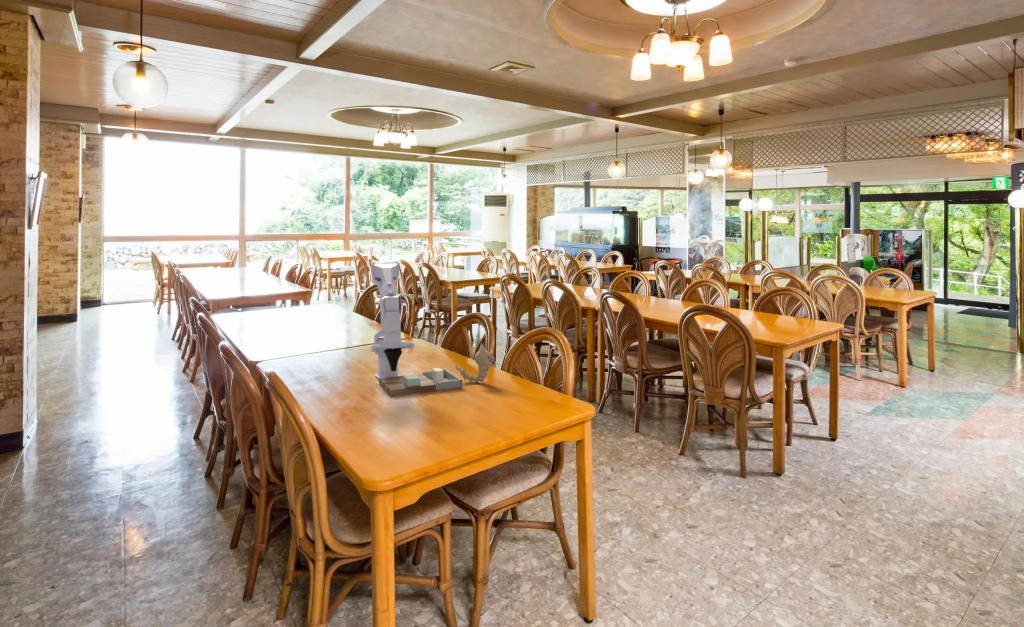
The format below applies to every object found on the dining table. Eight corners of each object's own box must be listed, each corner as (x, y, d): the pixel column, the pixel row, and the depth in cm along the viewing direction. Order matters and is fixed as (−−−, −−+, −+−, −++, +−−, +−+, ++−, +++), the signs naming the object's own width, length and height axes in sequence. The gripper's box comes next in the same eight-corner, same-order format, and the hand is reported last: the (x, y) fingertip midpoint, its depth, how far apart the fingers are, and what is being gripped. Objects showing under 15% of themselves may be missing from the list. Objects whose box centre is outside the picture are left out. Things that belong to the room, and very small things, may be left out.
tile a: (432, 368, 215) (438, 367, 216) (432, 380, 215) (439, 379, 216) (436, 371, 211) (443, 370, 212) (436, 383, 211) (443, 382, 212)
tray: (423, 379, 218) (422, 371, 218) (446, 376, 222) (446, 369, 222) (437, 391, 203) (437, 382, 202) (462, 388, 207) (462, 379, 206)
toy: (492, 385, 210) (492, 344, 208) (453, 383, 213) (452, 343, 211) (496, 381, 216) (496, 341, 214) (458, 379, 219) (457, 339, 217)
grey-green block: (404, 383, 203) (404, 376, 203) (416, 382, 205) (416, 375, 205) (407, 386, 199) (407, 379, 199) (420, 385, 201) (420, 378, 201)
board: (379, 384, 211) (378, 378, 211) (421, 379, 218) (421, 373, 218) (390, 396, 196) (390, 390, 196) (436, 391, 203) (436, 384, 202)
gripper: (373, 334, 190) (374, 375, 192) (416, 331, 196) (417, 370, 198) (368, 331, 196) (369, 370, 198) (410, 328, 203) (411, 366, 204)
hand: (393, 370), depth 199 cm, fingers closed
